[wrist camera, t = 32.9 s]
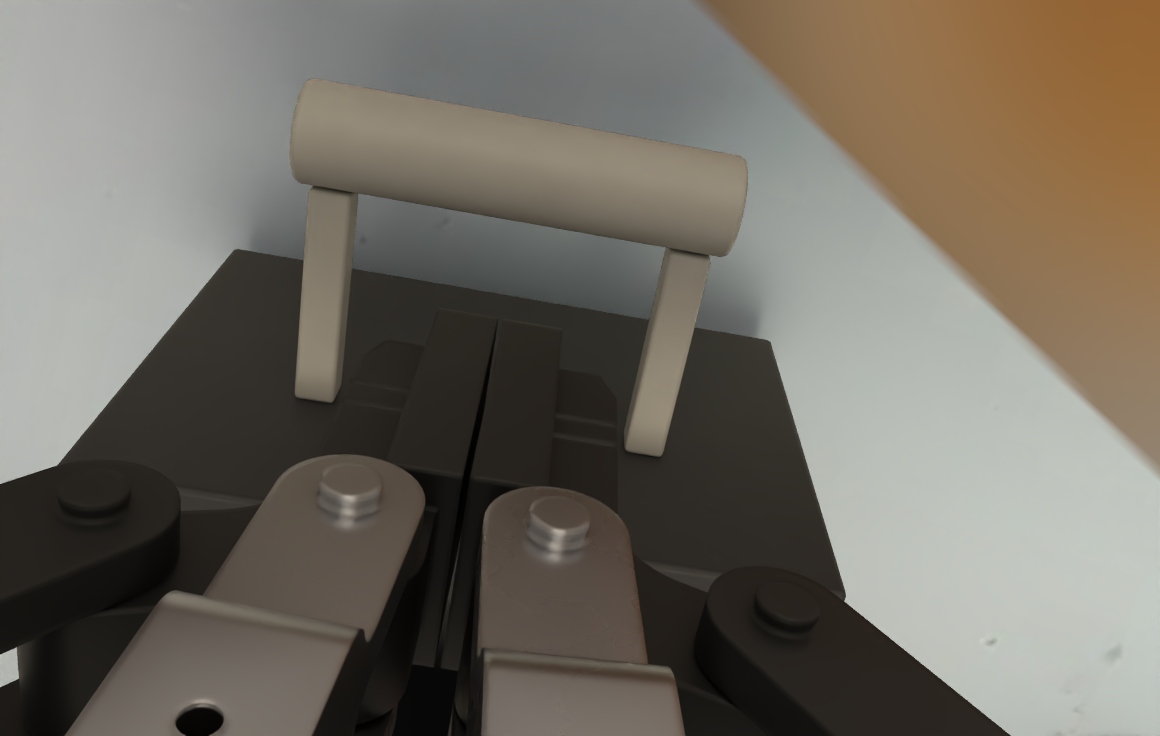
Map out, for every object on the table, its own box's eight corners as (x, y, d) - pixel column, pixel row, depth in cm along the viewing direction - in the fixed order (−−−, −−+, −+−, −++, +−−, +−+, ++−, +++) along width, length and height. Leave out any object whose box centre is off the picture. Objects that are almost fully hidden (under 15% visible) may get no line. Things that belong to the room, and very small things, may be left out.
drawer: (243, -11, 19) (32, 102, 12) (839, 100, 19) (968, 269, 13) (215, 728, 27) (78, 1057, 20) (642, 790, 27) (654, 1129, 20)
